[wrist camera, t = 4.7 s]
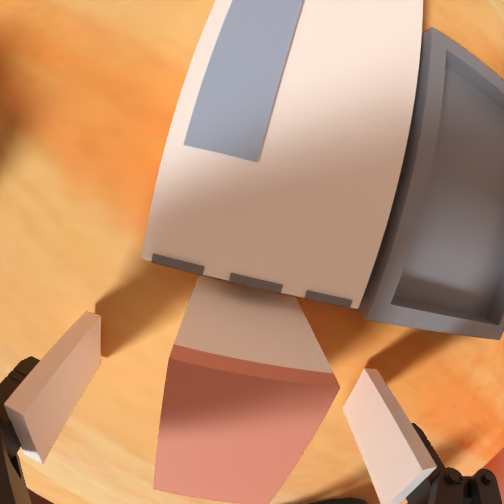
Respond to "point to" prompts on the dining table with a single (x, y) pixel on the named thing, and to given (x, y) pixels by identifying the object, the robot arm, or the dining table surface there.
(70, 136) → the dining table surface
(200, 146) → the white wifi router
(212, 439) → the block
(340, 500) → the mug
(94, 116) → the dining table surface
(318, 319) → the dining table surface
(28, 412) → the robot arm
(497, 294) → the tray
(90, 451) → the dining table surface
